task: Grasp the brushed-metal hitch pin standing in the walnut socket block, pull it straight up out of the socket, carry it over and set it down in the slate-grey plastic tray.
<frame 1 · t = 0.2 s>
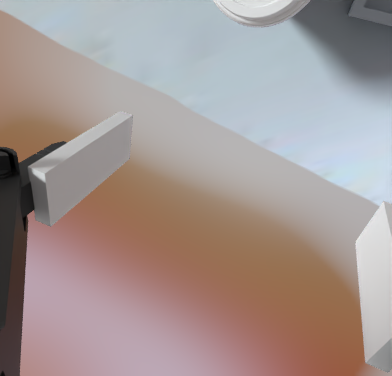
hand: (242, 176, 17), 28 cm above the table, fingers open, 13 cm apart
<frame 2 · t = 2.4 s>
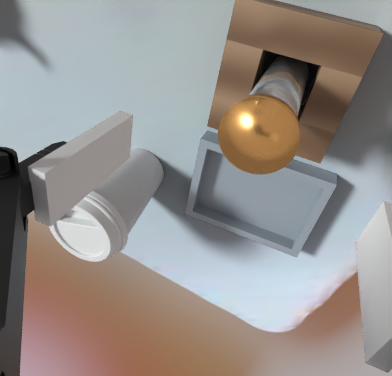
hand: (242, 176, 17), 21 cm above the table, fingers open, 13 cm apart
tray: (255, 190, 42), on the table
socket block: (287, 74, 33), on the table
coffee cup: (144, 168, 47), on the table
hitch pin: (276, 98, 27), in the socket block
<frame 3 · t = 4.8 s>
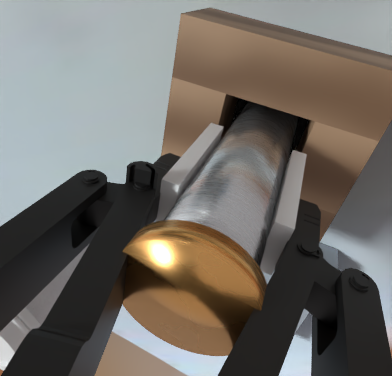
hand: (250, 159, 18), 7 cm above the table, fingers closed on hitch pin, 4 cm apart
tray: (231, 260, 32), on the table
socket block: (269, 119, 23), on the table
coffee cup: (93, 222, 37), on the table
hitch pin: (243, 174, 17), in the socket block, touching gripper
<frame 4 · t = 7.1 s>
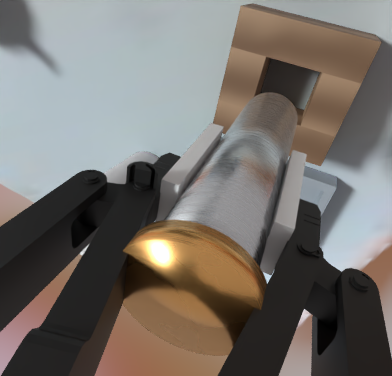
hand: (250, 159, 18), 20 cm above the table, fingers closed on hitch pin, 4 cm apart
tray: (257, 193, 43), on the table
socket block: (289, 80, 34), on the table
coffee cup: (148, 170, 48), on the table
hitch pin: (243, 174, 17), point 22 cm above the table, touching gripper
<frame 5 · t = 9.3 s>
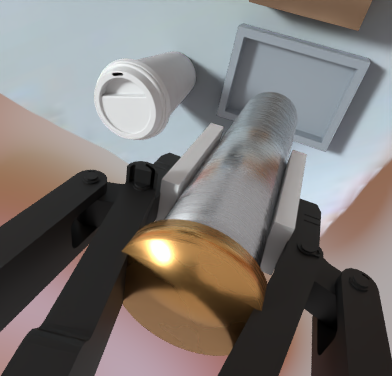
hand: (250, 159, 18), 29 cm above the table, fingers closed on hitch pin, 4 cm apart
tray: (286, 86, 44), on the table
coffee cup: (176, 74, 48), on the table
hitch pin: (243, 174, 17), point 31 cm above the table, touching gripper
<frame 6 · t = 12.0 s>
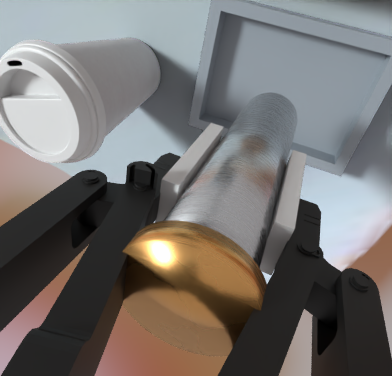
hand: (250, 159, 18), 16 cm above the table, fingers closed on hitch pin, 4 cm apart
tray: (284, 84, 31), on the table
coffee cup: (134, 69, 36), on the table
hitch pin: (243, 175, 17), point 18 cm above the table, touching gripper
when the fingers open (8 cm above the table, at t = 14.2 s): hitch pin drops 1 cm, resting on tray.
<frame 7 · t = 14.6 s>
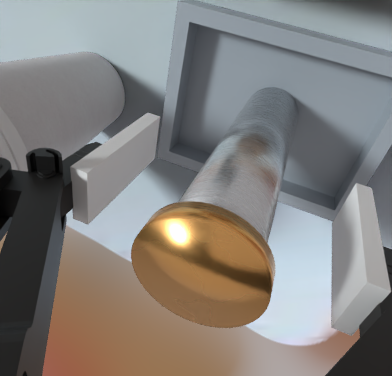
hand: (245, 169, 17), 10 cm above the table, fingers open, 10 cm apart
tray: (272, 111, 25), on the table
coffee cup: (95, 88, 30), on the table
hitch pin: (247, 164, 18), in the tray, point 9 cm above the table
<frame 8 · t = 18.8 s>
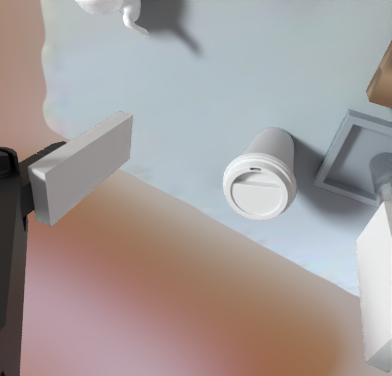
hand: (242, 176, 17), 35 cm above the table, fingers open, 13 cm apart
tray: (384, 163, 48), on the table
coffee cup: (273, 145, 52), on the table
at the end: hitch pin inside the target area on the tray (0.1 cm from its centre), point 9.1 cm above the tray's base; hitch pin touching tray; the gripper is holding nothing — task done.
